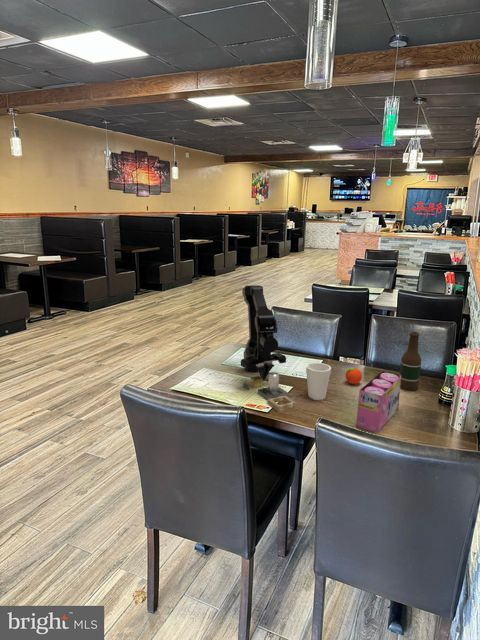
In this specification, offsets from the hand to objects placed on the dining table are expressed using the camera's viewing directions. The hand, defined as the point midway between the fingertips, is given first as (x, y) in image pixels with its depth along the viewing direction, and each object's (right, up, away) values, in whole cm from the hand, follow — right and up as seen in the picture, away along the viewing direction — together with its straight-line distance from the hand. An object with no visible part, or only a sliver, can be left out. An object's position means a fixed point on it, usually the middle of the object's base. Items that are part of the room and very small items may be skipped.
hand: (263, 380), depth 177 cm
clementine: (+38, -2, +6) cm, 39 cm away
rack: (+6, -8, -17) cm, 20 cm away
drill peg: (+4, -5, -9) cm, 11 cm away
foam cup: (+21, -6, -9) cm, 23 cm away
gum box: (+40, -10, -23) cm, 47 cm away
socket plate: (0, -5, -6) cm, 7 cm away
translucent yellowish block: (-3, -2, -1) cm, 4 cm away
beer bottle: (+61, -4, +3) cm, 61 cm away
